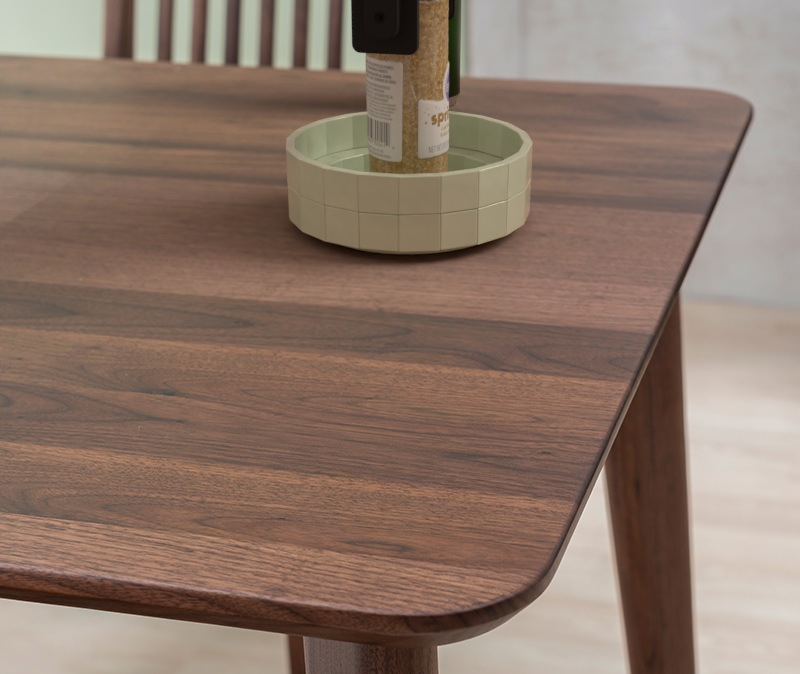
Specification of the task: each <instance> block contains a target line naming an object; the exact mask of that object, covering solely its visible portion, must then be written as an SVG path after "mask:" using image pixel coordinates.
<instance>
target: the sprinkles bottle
mask: <svg viewBox="0 0 800 674" xmlns="http://www.w3.org/2000/svg"><path fill="white" fill-rule="evenodd" d="M448 5H449V0H419V48H418V50H417V51H416V52H415V53H414V54H412V55H395V54H374V53H365V92H366V97H365V99H366V112H367V139H368V152H369V159H370V161H369V166H370V172H375V173H390V174H422V173H443V172H448V154H447V153H448V149H449V111H450V106H449V61H448V12H449V7H448Z"/></svg>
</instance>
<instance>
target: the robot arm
mask: <svg viewBox="0 0 800 674" xmlns="http://www.w3.org/2000/svg"><path fill="white" fill-rule="evenodd" d="M456 4H457V0H449V5H448V7H449V12H448V20H450V19H452V18H453V17H454V16H455V14H456ZM350 8H351V9H350V14H351V17H350V19H351V46H352V49H353V50H354V51H355V52H356V53H359V54H366V53H374V54H395V55H412V54H414V53H415V52H416V51H417V50H418V48H419V0H350Z"/></svg>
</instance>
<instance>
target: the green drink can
mask: <svg viewBox="0 0 800 674" xmlns="http://www.w3.org/2000/svg"><path fill="white" fill-rule="evenodd" d="M461 40H462V0H457V4H456V14H455V16H454V17H453V18H452V19H450V20H448V61H449V107H452V106H453V105H455V104H456V102H457V100H458V98H459V96H460V94H461V51H462V50H461V49H462V45H461V43H462V41H461Z"/></svg>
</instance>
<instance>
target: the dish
mask: <svg viewBox="0 0 800 674" xmlns="http://www.w3.org/2000/svg"><path fill="white" fill-rule="evenodd" d="M533 144H534V143H533V141H532V139H531V137H530V136H529V134H528V132H526V131H525V130H523V129H522V128H521V127H518V126H516V125H515V124H512V123H510V122H507V121H504V120H502V119H501V120H500V119H496V118H493V117H490V116H486V115H482V114H475V113H468V112H463V111H462V112H460V111H453V110H449V149H448V153H447V154H448V172H443V173H422V174H390V173H375V172H370V166H369V161H370V159H369V152H368V139H367V111H359V112H350V113H344V114H340V115H335V116H330V117H325V118H320V119H318V120H316V121H313V122H310V123H308V124H305V125H302V126H300V127H298V128H297V129H294V131H293V132H292V133H291V134H290V135H288V136H287V137H286V138H285V158H286V181H287V198H288V199H287V201H288V203H287V204H288V218H289V221H290V222H291V223H292V224H293V225H294V226H296V227H297V229H298V230H300V232H302V233H304V234H306V235H308V236H311V237H314V238H316V239H318V240H321V241H322V242H324V243H325V242H326V243H331V244H335V245H338V246H342V247H346V248H348V249H354V250H357V251H362V252H363V251H364V252H368V253H376V254H387V255H389V254H390V255H429V254H441V253H447V252H454V251H459V250H464V249H467V248H471V247H474V246H478V245H482V244H485V243H488V242H491V241H495V240H498V239H501V238H504V237H507V236H509V235H510V234H512V233H513V232H515V231H516V230H517V229H519V228H521V227H523V226H524V225H525V224H526V221H527V219H528V216H529V215H530V213H531V192H532V169H533V148H534V147H533V146H534V145H533Z"/></svg>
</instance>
